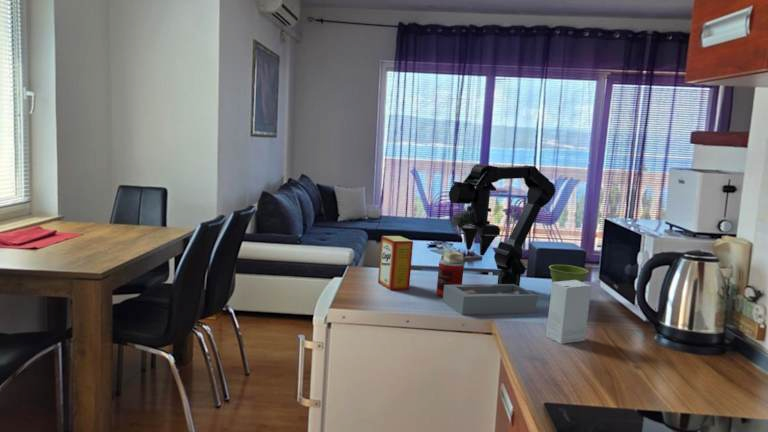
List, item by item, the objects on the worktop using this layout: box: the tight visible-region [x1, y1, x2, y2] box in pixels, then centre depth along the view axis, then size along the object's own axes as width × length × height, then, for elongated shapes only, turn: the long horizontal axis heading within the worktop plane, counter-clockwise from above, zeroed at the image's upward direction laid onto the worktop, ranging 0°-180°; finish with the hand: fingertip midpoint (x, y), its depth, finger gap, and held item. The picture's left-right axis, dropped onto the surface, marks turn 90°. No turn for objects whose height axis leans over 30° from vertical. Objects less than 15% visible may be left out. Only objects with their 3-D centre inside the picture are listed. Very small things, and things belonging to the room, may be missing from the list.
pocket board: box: [442, 283, 539, 315], centre depth 180 cm, size 24×13×5 cm, turn 109°
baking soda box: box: [377, 235, 414, 291], centre depth 195 cm, size 10×6×16 cm
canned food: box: [436, 258, 465, 299], centre depth 189 cm, size 8×8×11 cm
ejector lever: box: [463, 289, 521, 295], centre depth 180 cm, size 18×3×3 cm, turn 109°
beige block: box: [443, 251, 464, 263], centre depth 188 cm, size 5×4×3 cm
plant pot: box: [548, 264, 589, 283], centre depth 191 cm, size 12×12×11 cm
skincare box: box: [545, 280, 593, 345], centre depth 154 cm, size 8×6×15 cm
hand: (475, 252), depth 195 cm, fingers open, 9 cm apart
